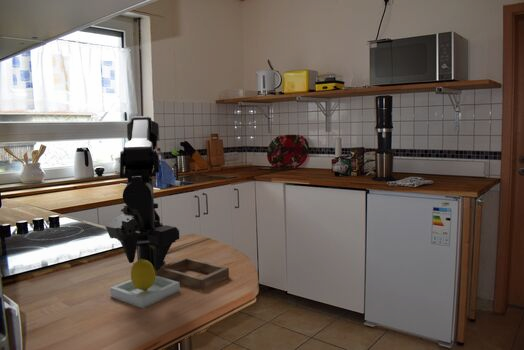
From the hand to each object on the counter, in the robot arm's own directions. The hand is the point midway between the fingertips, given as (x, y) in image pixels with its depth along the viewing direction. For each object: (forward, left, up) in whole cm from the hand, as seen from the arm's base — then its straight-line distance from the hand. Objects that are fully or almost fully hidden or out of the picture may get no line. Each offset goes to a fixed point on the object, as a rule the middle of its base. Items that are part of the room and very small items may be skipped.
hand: (144, 266), depth 101 cm
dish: (0, 0, -7) cm, 7 cm away
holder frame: (+2, +14, -7) cm, 16 cm away
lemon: (0, 0, -6) cm, 6 cm away
